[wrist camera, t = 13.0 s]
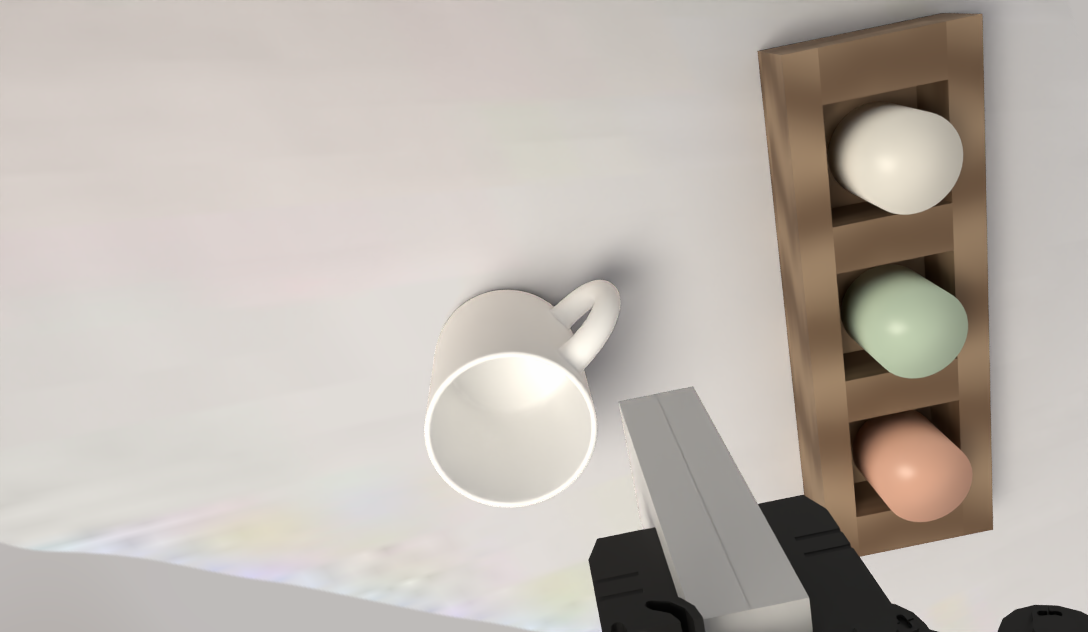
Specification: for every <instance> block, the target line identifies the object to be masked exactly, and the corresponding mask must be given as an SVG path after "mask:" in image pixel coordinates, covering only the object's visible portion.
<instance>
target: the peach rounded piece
mask: <svg viewBox="0 0 1088 632" xmlns="http://www.w3.org/2000/svg"><path fill="white" fill-rule="evenodd" d="M852 454H853V460H854V463H855V465H856V467H857V468H858V470H859V471H860V472H861V473H862V475H863V476H864V477H865V478H866V480H867V481H868V482H869V483H870V485H871V486H872V487H873V488H874V490H875V491H876V492H877V493H878V494H879V496H880V497H881V498H882V499H883V501H884V502H885V503H886V504H887V506H888V507H889V508H890V509H891V510H892V511H893V512H894V513H895V514H896V515H897V516H899V517H901V518H902V519H905V520H908V521H912V522H928V521H933V520H936V519H939V518H941V517H943V516H945V515H947V514H949V513H950V512H952V511H953V510H954V509H956V508H957V507H958V506H959V505H960V504H961V503H962V501H963V500H964V499H965V497H966V496H967V494H968V492H969V490H970V487H971V484H972V476H973V473H972V467H971V464H970V461H969V459H968V458H967V456H966V455H965V454H964V453H963V452H962V451H961V450H960V449H959V448H958V447H957V446H956V445H955V444H954V443H952V442H951V441H950V440H949V439H948V438H947V437H946V436H945V435H944V434H943V433H942V432H941V431H940V430H938V429H937V428H936V427H935V426H934V425H933V424H932V423H931V422H930V421H929V420H928V419H927V418H926V417H925V416H923V415H922V414H921V413H919V412H917V411H915V410H908V411H903V412H898V413H893V414H888V415H883V416H878V417H873V418H870V419H869V420H867V421H866V422H865V423H864V424H863V425H862V427H861V428H860V429H859V431H858V433H857V434H856V437H855V439H854V443H853V448H852Z"/></svg>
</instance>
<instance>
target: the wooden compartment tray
mask: <svg viewBox="0 0 1088 632" xmlns="http://www.w3.org/2000/svg"><path fill="white" fill-rule="evenodd" d="M758 60H759V69H760V79H761V88H762V98H763V107H764V117H765V126H766V136H767V145H768V155H769V164H770V174H771V183H772V193H773V202H774V212H775V221H776V231H777V240H778V250H779V259H780V269H781V278H782V288H783V297H784V307H785V316H786V325H787V335H788V344H789V354H790V363H791V373H792V382H793V392H794V401H795V411H796V420H797V430H798V439H799V449H800V458H801V468H802V477H803V487H804V495H805V496H806V497H808V498H809V499H811V500H813V501H814V502H816V503H818V504H819V505H821V506H823V507H824V508H826V509H827V510H828V511H829V513H830V514H831V516H832V517H833V519H834V520H835V522H836V523H837V525H838V526H839V528H840V531H841V532H843V533H844V535H845V536H846V538H847V539H848V541H849V542H850V544H851V547H852V548H854V550H855V551H856V552H857V554H858V555H859V557H860V556H865V555H870V554H875V553H880V552H885V551H890V550H895V549H900V548H904V547H909V546H914V545H919V544H924V543H929V542H934V541H939V540H944V539H949V538H954V537H959V536H963V535H968V534H973V533H978V532H983V531H988V530H993V506H992V458H991V409H990V360H989V311H988V262H987V213H986V164H985V116H984V67H983V18H982V14H958V13H941V14H936V15H931V16H926V17H922V18H917V19H912V20H907V21H902V22H897V23H892V24H888V25H883V26H878V27H873V28H868V29H863V30H858V31H854V32H849V33H844V34H839V35H834V36H829V37H824V38H820V39H815V40H810V41H805V42H800V43H795V44H790V45H786V46H781V47H776V48H771V49H766V50H761V51H758ZM873 102H889V103H893V104H897V105H902V106H906V107H910V108H914V109H919V110H923V111H927V112H931V113H934V114H937V115H939V116H941V117H943V118H945V119H946V120H947V121H949V122H950V123H951V124H952V125H953V127H954V128H955V129H956V131H957V133H958V134H959V137H960V139H961V143H962V147H963V163H962V168H961V172H960V175H959V177H958V179H957V181H956V183H955V185H954V187H953V188H952V189H951V191H950V192H949V193H948V194H947V195H946V196H945V198H943V199H942V200H941V201H940V202H939V203H937V204H936V205H934V206H933V207H931V208H929V209H927V210H925V211H922V212H919V213H915V214H909V215H901V214H895V213H891V212H888V211H886V210H884V209H882V208H880V207H878V206H876V205H874V204H872V203H870V202H868V201H866V200H864V199H862V198H860V197H858V196H856V195H854V194H852V193H850V192H848V191H847V190H845V189H844V188H842V187H841V186H840V185H839V184H838V183H837V181H836V180H835V178H834V177H833V175H832V173H831V170H830V167H829V162H828V150H829V144H830V140H831V138H832V135H833V133H834V131H835V129H836V127H837V126H838V124H839V123H840V122H841V121H842V120H843V118H844V117H846V116H847V115H848V114H849V113H850V112H852V111H853V110H855V109H856V108H858V107H860V106H862V105H865V104H868V103H873ZM887 264H895V265H901V266H904V267H907V268H909V269H911V270H912V271H914V272H916V273H917V274H919V275H921V276H922V277H924V278H925V279H927V280H929V281H930V282H932V283H934V284H935V285H937V286H938V287H940V288H942V289H943V290H945V291H947V292H948V293H950V294H951V295H953V296H954V297H955V298H957V299H958V300H959V302H960V303H961V304H962V306H963V307H964V309H965V312H966V315H967V318H968V333H967V337H966V341H965V343H964V345H963V348H962V349H961V351H960V353H959V354H958V355H957V357H956V358H955V359H954V360H953V361H952V362H951V363H950V364H949V365H948V366H947V367H945V368H944V369H942V370H941V371H939V372H937V373H935V374H932V375H930V376H926V377H922V378H904V377H899V376H897V375H894V374H893V373H891V372H889V371H888V370H887V369H885V368H884V367H883V366H882V365H881V364H880V363H879V362H877V361H876V360H875V359H874V358H873V357H872V356H871V355H870V354H869V353H868V352H866V351H865V350H864V349H863V348H862V347H861V346H860V345H859V344H858V343H856V342H855V341H854V340H853V339H852V338H851V337H850V336H849V335H848V333H847V332H846V330H845V328H844V326H843V323H842V319H841V306H842V301H843V298H844V296H845V293H846V291H847V290H848V288H849V287H850V285H851V284H852V283H853V282H854V281H855V279H857V278H858V277H859V276H860V275H861V274H863V273H864V272H866V271H868V270H869V269H872V268H874V267H877V266H881V265H887ZM908 410H915V411H917V412H919V413H921V414H922V415H923V416H925V417H926V418H927V419H928V420H929V421H930V422H931V423H932V424H933V425H934V426H935V427H936V428H937V429H938V430H940V431H941V432H942V433H943V434H944V435H945V436H946V437H947V438H948V439H949V440H950V441H951V442H952V443H954V444H955V445H956V446H957V447H958V448H959V449H960V450H961V451H962V452H963V453H964V454H965V455H966V456H967V458H968V459H969V461H970V464H971V467H972V473H973V476H972V484H971V487H970V490H969V492H968V494H967V496H966V497H965V499H964V500H963V501H962V503H961V504H960V505H959V506H958V507H957V508H956V509H954V510H953V511H952V512H950V513H949V514H947V515H945V516H943V517H941V518H939V519H936V520H933V521H928V522H912V521H908V520H905V519H902V518H901V517H899V516H897V515H896V514H895V513H894V512H893V511H892V510H891V509H890V508H889V507H888V506H887V504H886V503H885V502H884V501H883V499H882V498H881V497H880V496H879V494H878V493H877V492H876V491H875V490H874V488H873V487H872V486H871V485H870V483H869V482H868V481H867V480H866V478H865V477H864V476H863V475H862V473H861V472H860V471H859V470H858V468H857V467H856V465H855V463H854V460H853V454H852V448H853V443H854V439H855V437H856V434H857V433H858V431H859V429H860V428H861V427H862V425H863V424H864V423H865V422H866V421H867V420H869V419H870V418H873V417H878V416H883V415H888V414H893V413H898V412H903V411H908Z"/></svg>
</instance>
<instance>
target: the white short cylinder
mask: <svg viewBox="0 0 1088 632" xmlns="http://www.w3.org/2000/svg"><path fill="white" fill-rule="evenodd" d="M828 162H829V167H830V170H831V173H832V175H833V177H834V178H835V180H836V181H837V183H838V184H839V185H840V186H841V187H842V188H844V189H845V190H847V191H848V192H850V193H852V194H854V195H856V196H858V197H860V198H862V199H864V200H866V201H868V202H870V203H872V204H874V205H876V206H878V207H880V208H882V209H884V210H886V211H888V212H891V213H895V214H901V215H909V214H915V213H919V212H922V211H925V210H927V209H929V208H931V207H933V206H934V205H936V204H937V203H939V202H940V201H941V200H942V199H943V198H945V196H946V195H947V194H948V193H949V192H950V191H951V189H952V188H953V187H954V185H955V183H956V181H957V179H958V177H959V175H960V172H961V168H962V163H963V147H962V143H961V139H960V137H959V134H958V133H957V131H956V129H955V128H954V127H953V125H952V124H951V123H950V122H949V121H947V120H946V119H945V118H943V117H941V116H939V115H937V114H934V113H931V112H927V111H923V110H919V109H914V108H910V107H906V106H902V105H897V104H893V103H889V102H873V103H868V104H865V105H862V106H860V107H858V108H856V109H855V110H853V111H852V112H850V113H849V114H848V115H847V116H846V117H844V118H843V120H842V121H841V122H840V123H839V124H838V126H837V127H836V129H835V131H834V133H833V135H832V138H831V140H830V144H829V150H828Z"/></svg>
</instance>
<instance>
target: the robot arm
mask: <svg viewBox="0 0 1088 632" xmlns="http://www.w3.org/2000/svg"><path fill="white" fill-rule="evenodd" d="M619 407H620V412H621V418H622V423H623V429H624V434H625V440H626V445H627V451H628V456H629V462H630V467H631V473H632V478H633V484H634V489H635V495H636V500H637V506H638V511H639V517H640V521H641V524H642V527H643V530H638V531H634V532H629V533H624V534H619V535H614V536H609V537H604V538H599V539H597V541H596V543H595V546H594V548H593V550H592V553H591V555H590V558H589V564H590V570H591V575H592V580H593V586H594V591H595V596H596V601H597V607H598V612H599V618H600V623H601V628H602V632H937V631H934V630H930V629H929V628H928V627H927V625H926V624H925V623H924V622H923V621H922V620H921V619H920V618H918V617H917V616H916V615H915V614H914V613H913V612H911V611H909V610H907V609H904V608H902V607H900V606H898V605H896V604H891V602H890V601H889V599H888V598H887V596H886V595H885V594H884V592H883V591H882V589H881V588H880V586H879V585H878V583H877V582H876V580H875V579H874V577H873V576H872V574H871V573H870V572H869V570H868V569H867V567H866V566H865V564H864V563H863V561H862V560H861V558H860V557H859V555H858V554H857V552H856V551H855V550H854V548H852V547H851V544H850V542H849V541H848V539H847V538H846V536H845V535H844V533H843V532H841V531H840V528H839V526H838V525H837V523H836V522H835V520H834V519H833V517H832V516H831V514H830V513H829V511H828V510H827V509H826V508H824V507H823V506H821V505H819V504H818V503H816V502H814V501H813V500H811V499H809V498H808V497H806V496H805V495H800V496H795V497H790V498H785V499H780V500H775V501H770V502H765V503H760V504H757V502H756V500H755V498H754V496H753V495H752V493H751V491H750V489H749V487H748V485H747V484H746V482H745V480H744V478H743V476H742V475H741V473H740V471H739V469H738V467H737V465H736V464H735V462H734V460H733V458H732V456H731V455H730V453H729V451H728V449H727V447H726V445H725V444H724V442H723V440H722V438H721V436H720V435H719V433H718V431H717V429H716V427H715V425H714V424H713V422H712V420H711V418H710V416H709V415H708V413H707V411H706V409H705V407H704V405H703V404H702V402H701V400H700V398H699V396H698V395H697V393H696V391H695V389H694V387H688V388H683V389H678V390H673V391H668V392H663V393H658V394H653V395H649V396H644V397H639V398H634V399H629V400H624V401H619ZM998 632H1088V615H1087V614H1085V613H1083V612H1081V611H1077V610H1073V609H1069V608H1065V607H1061V606H1052V605H1033V606H1029V607H1024V608H1020V609H1016V610H1015V611H1013V612H1012V613H1010V614H1009V615H1007V616H1006V617H1004V618H1003V620H1002V622H1001V624H1000V627H999V629H998Z"/></svg>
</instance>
